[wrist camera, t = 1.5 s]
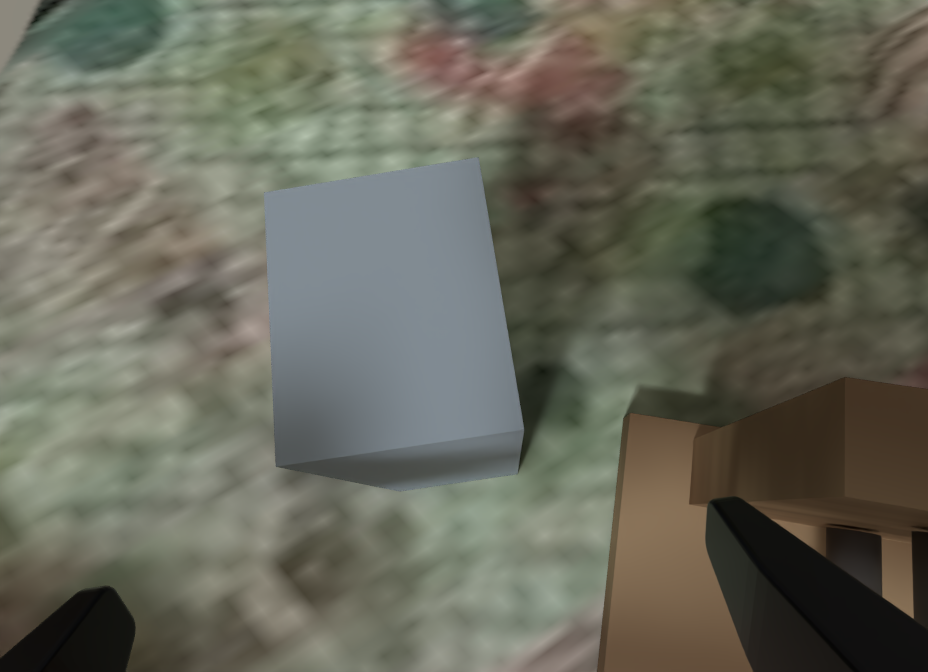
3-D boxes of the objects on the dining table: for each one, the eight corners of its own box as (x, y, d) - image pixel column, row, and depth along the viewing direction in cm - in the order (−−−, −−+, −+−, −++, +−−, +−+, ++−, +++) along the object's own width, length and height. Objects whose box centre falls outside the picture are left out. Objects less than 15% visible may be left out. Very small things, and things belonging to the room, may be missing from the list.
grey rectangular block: (517, 474, 20) (523, 429, 9) (399, 491, 20) (275, 466, 9) (494, 332, 21) (478, 157, 11) (385, 349, 21) (264, 192, 11)
